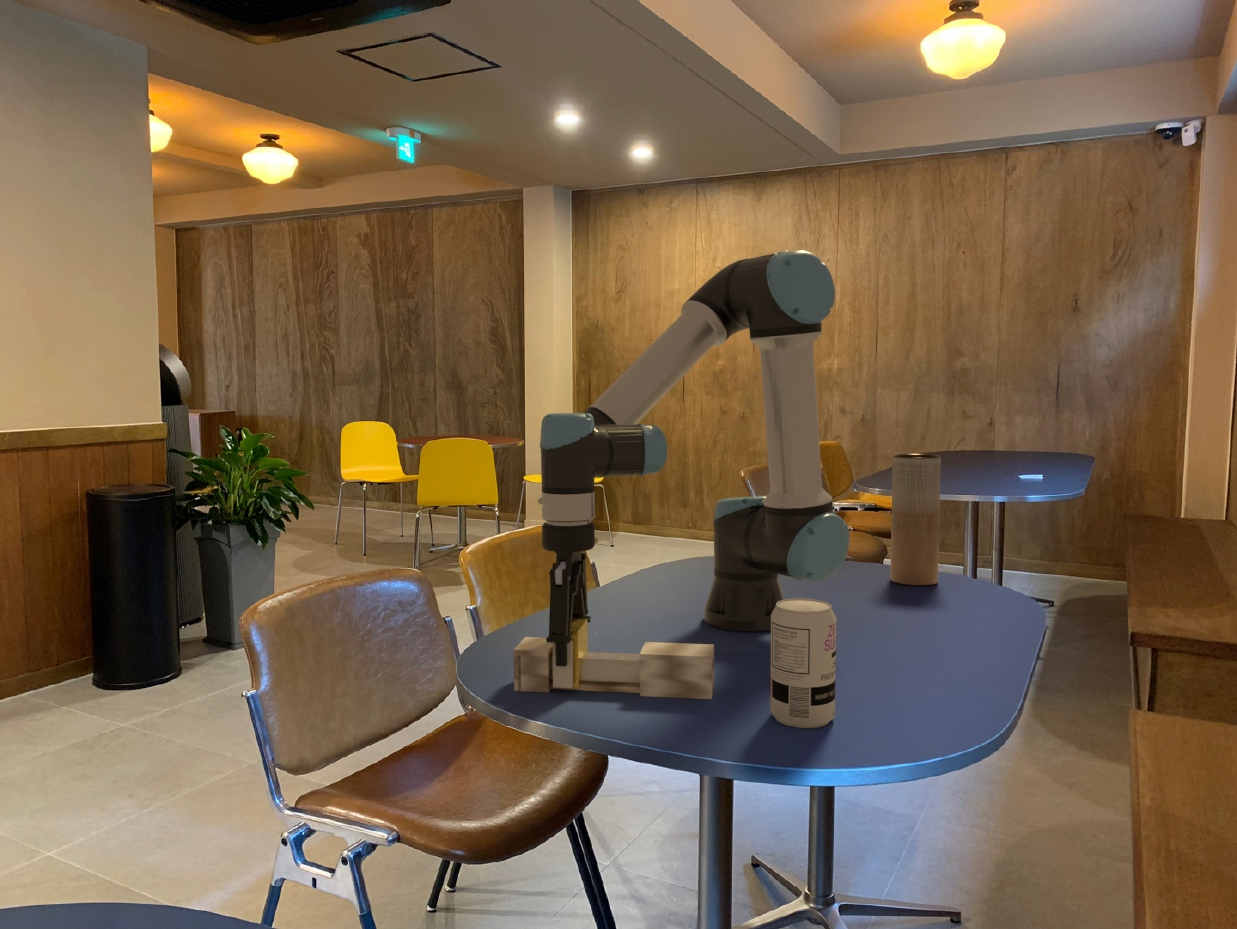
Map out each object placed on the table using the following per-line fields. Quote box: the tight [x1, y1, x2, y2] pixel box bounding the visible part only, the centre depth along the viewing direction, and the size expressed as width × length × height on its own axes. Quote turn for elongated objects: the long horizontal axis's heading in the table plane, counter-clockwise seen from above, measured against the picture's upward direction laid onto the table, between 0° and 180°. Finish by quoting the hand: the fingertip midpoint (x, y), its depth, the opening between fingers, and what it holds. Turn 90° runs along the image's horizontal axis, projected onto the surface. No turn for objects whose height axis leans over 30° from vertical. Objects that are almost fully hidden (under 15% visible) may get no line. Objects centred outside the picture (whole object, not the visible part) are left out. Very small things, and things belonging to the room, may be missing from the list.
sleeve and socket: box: [513, 636, 715, 700], centre depth 130 cm, size 28×7×6 cm, turn 81°
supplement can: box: [769, 598, 837, 729], centre depth 117 cm, size 8×8×15 cm
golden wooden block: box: [550, 618, 640, 687], centre depth 130 cm, size 20×7×8 cm, turn 81°
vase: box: [889, 453, 942, 587], centre depth 198 cm, size 10×10×28 cm
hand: (569, 676), depth 131 cm, fingers open, 8 cm apart
